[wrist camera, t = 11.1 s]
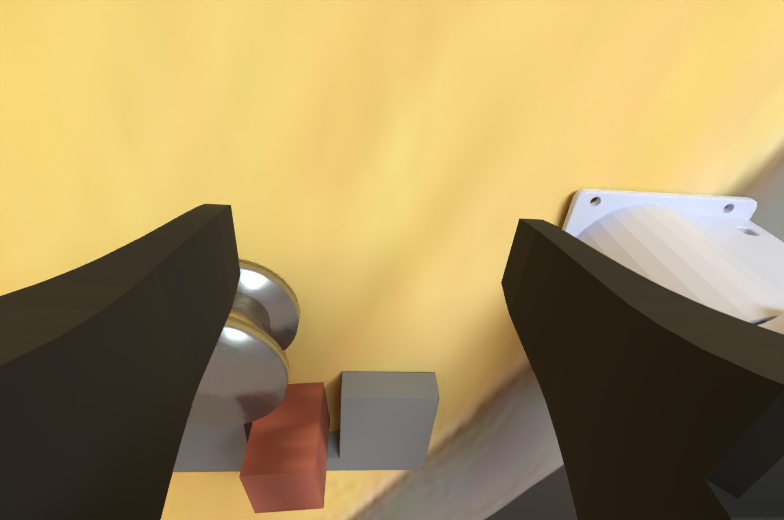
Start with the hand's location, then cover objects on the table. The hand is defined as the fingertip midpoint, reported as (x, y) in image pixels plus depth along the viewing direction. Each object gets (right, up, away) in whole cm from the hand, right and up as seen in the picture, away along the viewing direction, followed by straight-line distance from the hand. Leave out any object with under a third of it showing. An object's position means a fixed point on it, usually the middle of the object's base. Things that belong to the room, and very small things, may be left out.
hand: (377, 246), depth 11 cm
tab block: (-6, -10, +18) cm, 21 cm away
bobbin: (-8, -3, +13) cm, 16 cm away
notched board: (-6, -11, +18) cm, 22 cm away
